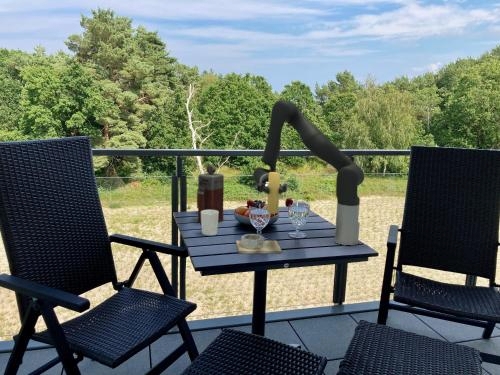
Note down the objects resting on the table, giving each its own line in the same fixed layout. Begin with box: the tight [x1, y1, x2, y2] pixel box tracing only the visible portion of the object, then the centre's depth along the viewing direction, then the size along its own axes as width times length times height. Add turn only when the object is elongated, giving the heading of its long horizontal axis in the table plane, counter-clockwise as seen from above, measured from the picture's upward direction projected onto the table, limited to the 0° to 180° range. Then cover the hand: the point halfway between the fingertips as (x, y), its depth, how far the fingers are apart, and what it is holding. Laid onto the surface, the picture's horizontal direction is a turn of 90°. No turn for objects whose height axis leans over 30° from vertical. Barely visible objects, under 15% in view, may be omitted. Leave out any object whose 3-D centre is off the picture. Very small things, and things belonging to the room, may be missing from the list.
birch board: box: [235, 239, 283, 255], centre depth 177 cm, size 17×13×1 cm
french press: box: [196, 164, 225, 224], centre depth 210 cm, size 9×11×28 cm
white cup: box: [200, 210, 219, 236], centre depth 193 cm, size 8×8×10 cm
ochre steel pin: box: [266, 171, 281, 214], centre depth 173 cm, size 4×4×16 cm
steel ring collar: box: [240, 233, 264, 249], centre depth 176 cm, size 9×9×4 cm
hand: (274, 191), depth 171 cm, fingers closed on ochre steel pin, 4 cm apart
